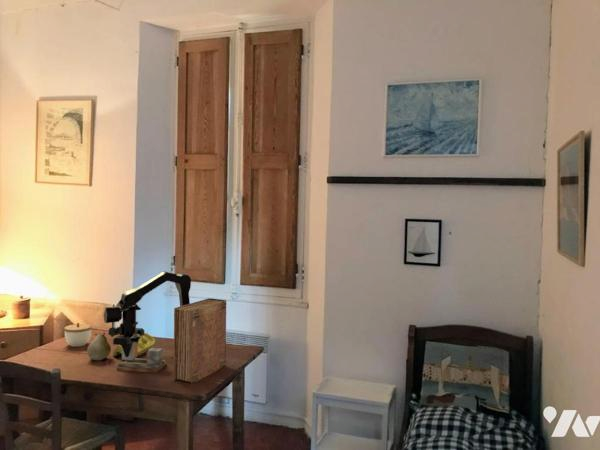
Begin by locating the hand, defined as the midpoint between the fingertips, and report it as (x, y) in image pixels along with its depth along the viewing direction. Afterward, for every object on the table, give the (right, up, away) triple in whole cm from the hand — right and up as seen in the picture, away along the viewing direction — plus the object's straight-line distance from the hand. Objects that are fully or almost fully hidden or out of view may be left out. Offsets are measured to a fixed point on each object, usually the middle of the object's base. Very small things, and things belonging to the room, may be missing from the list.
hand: (129, 355), depth 233 cm
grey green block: (0, -1, 0) cm, 1 cm away
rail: (+6, -5, -1) cm, 8 cm away
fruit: (-17, -4, +10) cm, 20 cm away
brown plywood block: (+33, -6, -7) cm, 34 cm away
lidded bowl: (-36, -3, +32) cm, 49 cm away
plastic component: (-3, -4, +20) cm, 21 cm away
